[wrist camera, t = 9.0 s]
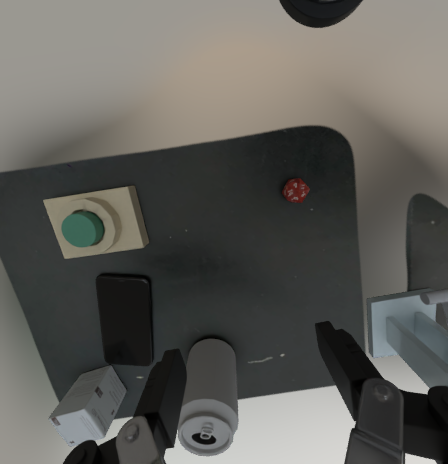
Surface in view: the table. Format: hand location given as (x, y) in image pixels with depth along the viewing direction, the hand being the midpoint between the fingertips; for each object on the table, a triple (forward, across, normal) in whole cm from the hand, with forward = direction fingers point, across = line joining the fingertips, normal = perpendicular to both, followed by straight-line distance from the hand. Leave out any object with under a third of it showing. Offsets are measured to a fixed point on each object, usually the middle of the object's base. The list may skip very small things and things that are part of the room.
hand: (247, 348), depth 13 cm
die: (+19, -9, -6) cm, 22 cm away
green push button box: (+19, +17, -7) cm, 27 cm away
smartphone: (+19, +19, +9) cm, 28 cm away
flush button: (+15, +17, -7) cm, 24 cm away
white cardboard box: (+19, +28, +19) cm, 39 cm away
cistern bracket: (+19, -21, +18) cm, 34 cm away
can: (+19, +8, +18) cm, 27 cm away
